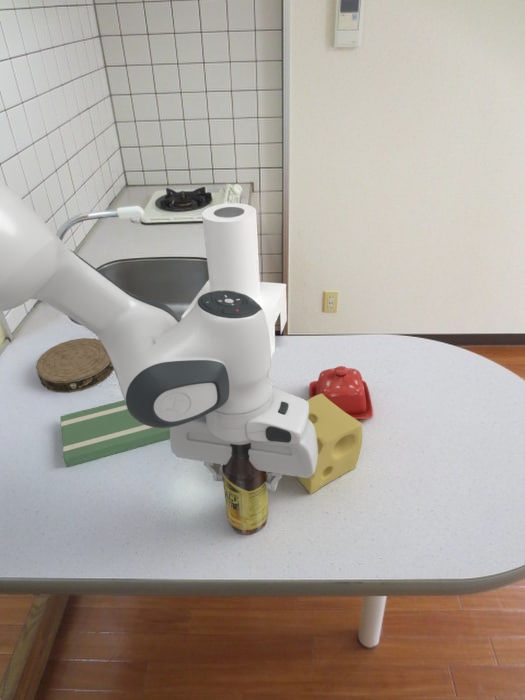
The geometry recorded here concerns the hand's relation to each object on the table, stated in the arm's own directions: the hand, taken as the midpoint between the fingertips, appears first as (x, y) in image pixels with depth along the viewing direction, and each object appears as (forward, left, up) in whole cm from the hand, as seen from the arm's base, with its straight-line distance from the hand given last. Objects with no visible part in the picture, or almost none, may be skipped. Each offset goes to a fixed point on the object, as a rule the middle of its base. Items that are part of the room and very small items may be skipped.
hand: (246, 482), depth 75 cm
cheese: (+8, +14, -9) cm, 18 cm away
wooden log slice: (-47, +30, -9) cm, 56 cm away
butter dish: (+10, +30, -9) cm, 33 cm away
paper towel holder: (-16, +49, -9) cm, 52 cm away
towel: (-28, +15, -8) cm, 33 cm away
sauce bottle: (0, 0, -9) cm, 9 cm away
